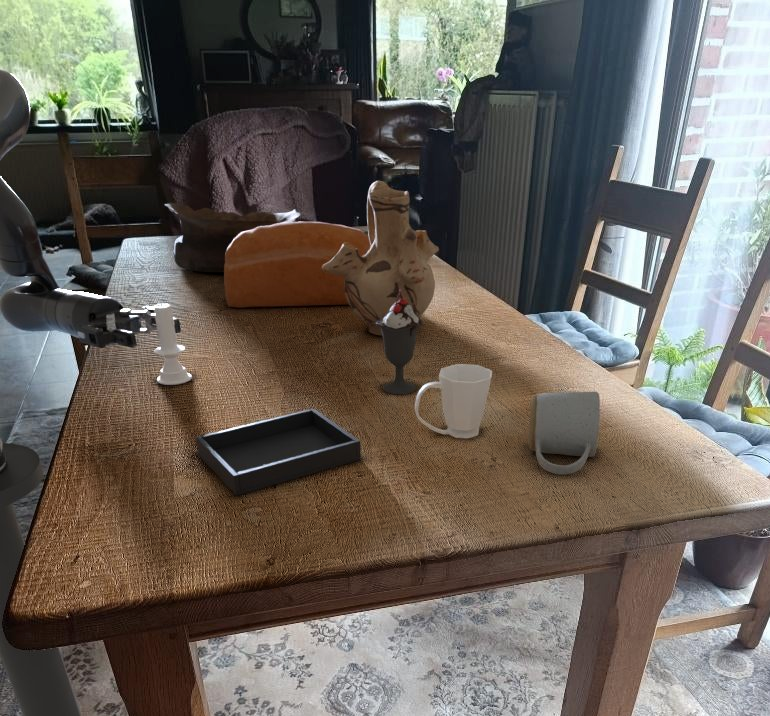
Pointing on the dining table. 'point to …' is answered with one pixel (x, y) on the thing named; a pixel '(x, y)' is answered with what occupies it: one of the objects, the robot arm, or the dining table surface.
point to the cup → (460, 398)
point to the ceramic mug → (564, 427)
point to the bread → (288, 264)
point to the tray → (277, 450)
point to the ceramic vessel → (386, 260)
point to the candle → (169, 348)
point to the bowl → (214, 234)
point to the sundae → (399, 342)
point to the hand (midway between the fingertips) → (157, 333)
